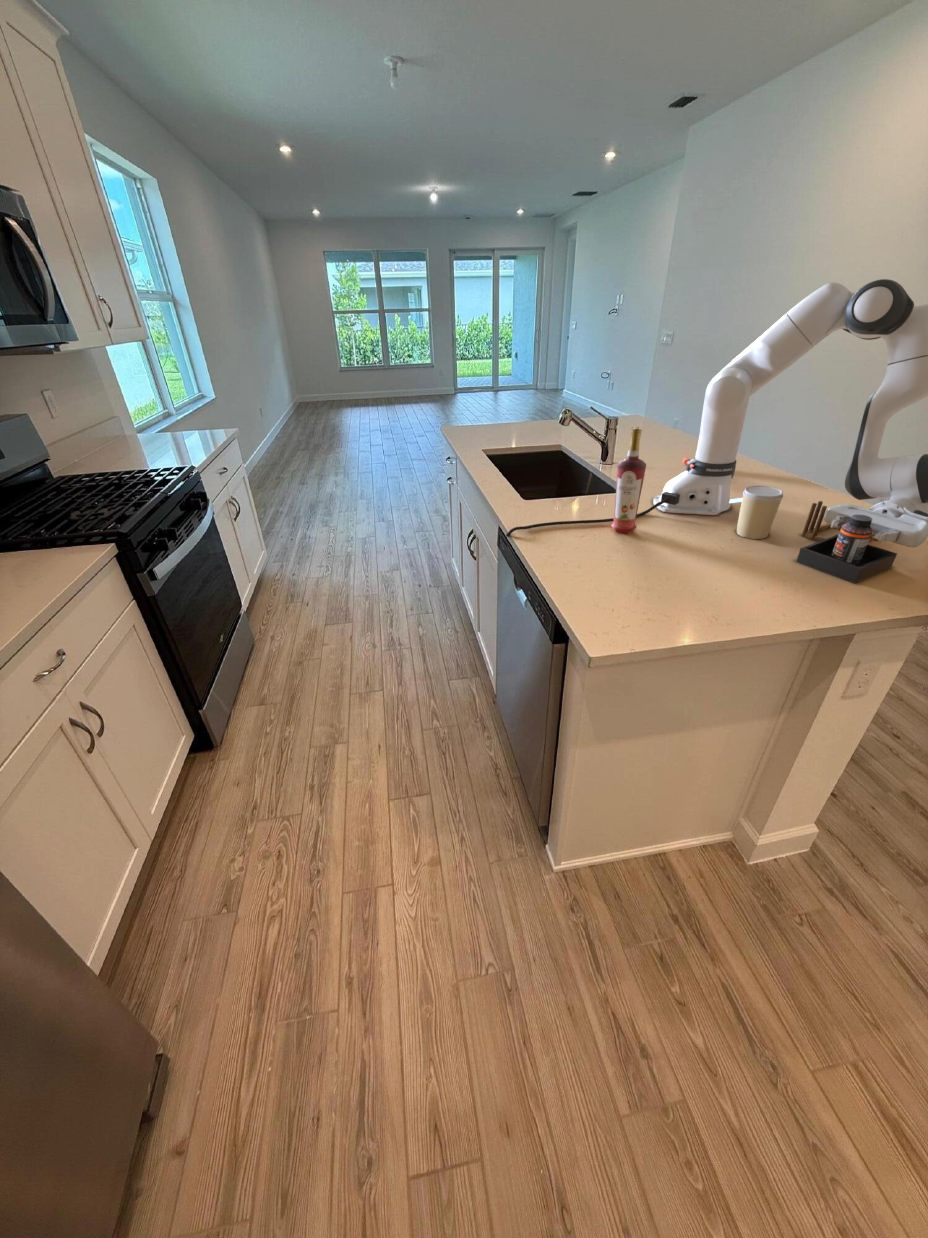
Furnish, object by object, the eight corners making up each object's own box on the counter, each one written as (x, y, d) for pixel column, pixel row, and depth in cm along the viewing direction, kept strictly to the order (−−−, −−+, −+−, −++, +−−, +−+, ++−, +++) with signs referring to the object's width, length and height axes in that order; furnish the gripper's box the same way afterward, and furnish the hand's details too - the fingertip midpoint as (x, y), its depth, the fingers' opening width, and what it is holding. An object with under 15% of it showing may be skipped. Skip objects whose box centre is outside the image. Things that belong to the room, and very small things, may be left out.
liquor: (638, 527, 146) (653, 425, 131) (634, 536, 140) (649, 431, 125) (612, 524, 149) (624, 424, 134) (607, 533, 143) (619, 430, 128)
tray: (855, 583, 113) (861, 569, 111) (796, 561, 123) (800, 548, 121) (891, 567, 119) (897, 553, 117) (831, 547, 129) (836, 534, 127)
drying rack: (843, 549, 128) (857, 515, 123) (800, 535, 136) (811, 503, 131) (873, 538, 133) (887, 505, 128) (830, 525, 141) (841, 493, 136)
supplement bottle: (823, 557, 123) (839, 513, 117) (846, 555, 123) (864, 511, 117) (841, 568, 118) (858, 522, 112) (865, 566, 118) (884, 520, 112)
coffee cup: (768, 528, 141) (780, 486, 135) (773, 541, 134) (787, 497, 127) (731, 525, 144) (741, 484, 137) (734, 538, 136) (745, 495, 130)
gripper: (848, 494, 128) (814, 505, 123) (944, 518, 113) (910, 532, 107) (839, 518, 131) (806, 530, 126) (931, 545, 116) (898, 559, 111)
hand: (855, 531), depth 117 cm, fingers open, 8 cm apart
